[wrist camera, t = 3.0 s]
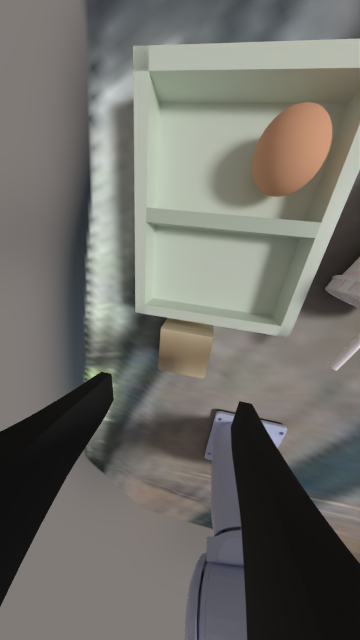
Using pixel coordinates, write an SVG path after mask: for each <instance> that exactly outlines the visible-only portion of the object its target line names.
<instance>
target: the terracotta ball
mask: <svg viewBox="0 0 360 640" xmlns="http://www.w3.org/2000/svg"><path fill="white" fill-rule="evenodd" d="M331 140H332V122H331V119H330V116H329V114H328V112H327V111H326V110H325V109H324V108H323V107H322V106H320V105H319V104H316V103H313V102H303V103H299V104H295V105H293V106H291V107H289V108H287V109H285V110H284V111H283V112H281V113H280V114H279V115H278V116H276V117H275V118H274V119H273V120H272V122H271V123H270V124H269V125H268V126H267V128H266V129H265V130H264V132H263V134H262V135H261V137H260V139H259V141H258V143H257V146H256V149H255V152H254V156H253V161H252V174H253V179H254V182H255V184H256V186H257V187H258V189H259V190H260V191H261V192H263V193H264V194H266V195H269V196H273V197H281V196H286V195H289V194H291V193H294V192H295V191H297V190H299V189H300V188H302V187H303V186H304V185H306V184H307V183H308V182H309V181H310V180H311V179H312V178H313V177H314V176H315V174H316V173H317V172H318V171H319V169H320V168H321V166H322V164H323V163H324V161H325V159H326V157H327V154H328V152H329V149H330V145H331Z"/></svg>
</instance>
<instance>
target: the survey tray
mask: <svg viewBox="0 0 360 640" xmlns="http://www.w3.org/2000/svg"><path fill="white" fill-rule="evenodd" d="M133 80H134V200H135V312H136V313H142V314H148V315H154V316H160V317H166V318H173V319H179V320H185V321H191V322H197V323H203V324H209V325H215V326H221V327H227V328H233V329H239V330H245V331H251V332H257V333H263V334H269V335H276V336H282V337H288V338H289V336H290V334H291V331H292V329H293V327H294V324H295V322H296V320H297V317H298V315H299V312H300V310H301V308H302V305H303V303H304V301H305V298H306V296H307V293H308V291H309V289H310V286H311V284H312V282H313V279H314V277H315V274H316V272H317V270H318V267H319V265H320V263H321V260H322V258H323V255H324V253H325V251H326V248H327V246H328V244H329V241H330V239H331V236H332V234H333V232H334V229H335V227H336V225H337V222H338V220H339V218H340V215H341V213H342V210H343V208H344V206H345V203H346V201H347V199H348V196H349V194H350V191H351V189H352V187H353V184H354V182H355V180H356V177H357V175H358V172H359V170H360V39H337V40H306V41H276V42H245V43H214V44H184V45H153V46H133ZM303 102H313V103H316V104H319V105H320V106H322V107H323V108H324V109H325V110H326V111H327V112H328V114H329V116H330V119H331V122H332V140H331V145H330V149H329V152H328V154H327V157H326V159H325V161H324V163H323V164H322V166H321V168H320V169H319V171H318V172H317V173H316V174H315V176H314V177H313V178H312V179H311V180H310V181H309V182H308V183H307V184H306V185H304V186H303V187H302V188H300V189H299V190H297V191H295V192H294V193H291V194H289V195H286V196H281V197H273V196H269V195H266V194H264V193H263V192H261V191H260V190H259V189H258V187H257V186H256V184H255V182H254V179H253V174H252V161H253V156H254V152H255V149H256V146H257V143H258V141H259V139H260V137H261V135H262V134H263V132H264V130H265V129H266V128H267V126H268V125H269V124H270V123H271V122H272V120H273V119H274V118H275V117H276V116H278V115H279V114H280V113H281V112H283V111H284V110H285V109H287V108H289V107H291V106H293V105H295V104H299V103H303Z"/></svg>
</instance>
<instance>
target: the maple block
mask: <svg viewBox="0 0 360 640" xmlns="http://www.w3.org/2000/svg"><path fill="white" fill-rule="evenodd" d="M212 342H213V325H209V324H203V323H197V322H191V321H185V320H179V319H173V318H167V319H166V321H165V323H164V324H163V326H162V327H161V333H160V348H159V363H158V370H163V371H168V372H173V373H177V374H182V375H187V376H192V377H197V378H201V379H205V374H206V370H207V365H208V360H209V356H210V351H211V346H212Z"/></svg>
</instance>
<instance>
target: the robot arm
mask: <svg viewBox="0 0 360 640" xmlns="http://www.w3.org/2000/svg"><path fill="white" fill-rule="evenodd" d="M113 400H114V399H113V387H112V376H111V374H109V373H104V372H101V373H99V374H97V375H96V376H94V377H93V378H91V379H90V380H88V381H87V382H85V383H84V384H82V385H81V386H79V387H78V388H76V389H75V390H73V391H71V392H70V393H68V394H67V395H65V396H63V397H62V398H60V399H59V400H57V401H55V402H53V403H52V404H50V405H48V406H47V407H45V408H43V409H42V410H40V411H38V412H37V413H35V414H33V415H31V416H30V417H28V418H26V419H24V420H22V421H20V422H18V423H16V424H15V425H13V426H11V427H9V428H7V429H5V430H3V431H1V432H0V606H1V604H2V602H3V600H4V598H5V596H6V594H7V591H8V589H9V587H10V585H11V583H12V581H13V579H14V577H15V575H16V573H17V571H18V568H19V567H20V564H21V563H22V561H23V559H24V557H25V555H26V553H27V551H28V549H29V547H30V545H31V543H32V541H33V539H34V537H35V535H36V533H37V531H38V529H39V527H40V525H41V523H42V521H43V519H44V518H45V516H46V514H47V512H48V510H49V508H50V506H51V505H52V503H53V501H54V499H55V497H56V495H57V493H58V492H59V490H60V488H61V486H62V484H63V483H64V481H65V479H66V477H67V475H68V474H69V472H70V470H71V469H72V467H73V465H74V464H75V462H76V460H77V459H78V457H79V456H80V454H81V453H82V451H83V450H84V448H85V447H86V445H87V444H88V442H89V441H90V439H91V438H92V436H93V435H94V433H95V431H96V430H97V428H98V427H99V425H100V424H101V422H102V421H103V419H104V417H105V416H106V414H107V412H108V410H109V408H110V406H111V404H112V402H113ZM286 432H287V428H286V426H285V425H282V424H277V423H273V422H268V421H264V420H260V418H259V416H258V414H257V412H256V411H255V409H254V407H253V405H252V404H249V403H245V402H240V401H239V404H238V407H237V410H236V413H235V414H232V413H228V412H224V411H217V412H216V414H215V418H214V422H213V425H212V429H211V433H210V436H209V440H208V444H207V447H206V451H205V458H206V459H207V460H211V461H212V497H211V515H212V525H213V529H214V537H207V552H206V553H204V554H202V555H201V556H200V558H199V560H198V562H197V564H196V567H195V570H194V572H193V575H192V578H191V582H190V586H189V592H188V599H187V607H186V619H185V620H186V621H185V640H360V563H359V562H358V561H357V560H356V558H355V557H354V556H353V555H352V553H351V552H350V551H349V550H348V548H347V547H346V546H345V545H344V543H343V542H342V541H341V539H340V538H339V537H338V535H337V534H336V533H335V531H334V530H333V529H332V527H331V526H330V525H329V523H328V522H327V521H326V519H325V518H324V517H323V515H322V514H321V512H320V511H319V510H318V508H317V507H316V506H315V504H314V503H313V501H312V500H311V499H310V497H309V496H308V494H307V493H306V491H305V490H304V489H303V487H302V486H301V484H300V483H299V481H298V480H297V478H296V477H295V475H294V474H293V472H292V471H291V469H290V468H289V466H288V465H287V463H286V461H285V460H284V458H283V457H282V455H281V453H280V452H279V450H278V449H277V448H278V447H279V445H280V443H281V441H282V439H283V438H284V436H285V434H286Z"/></svg>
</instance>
